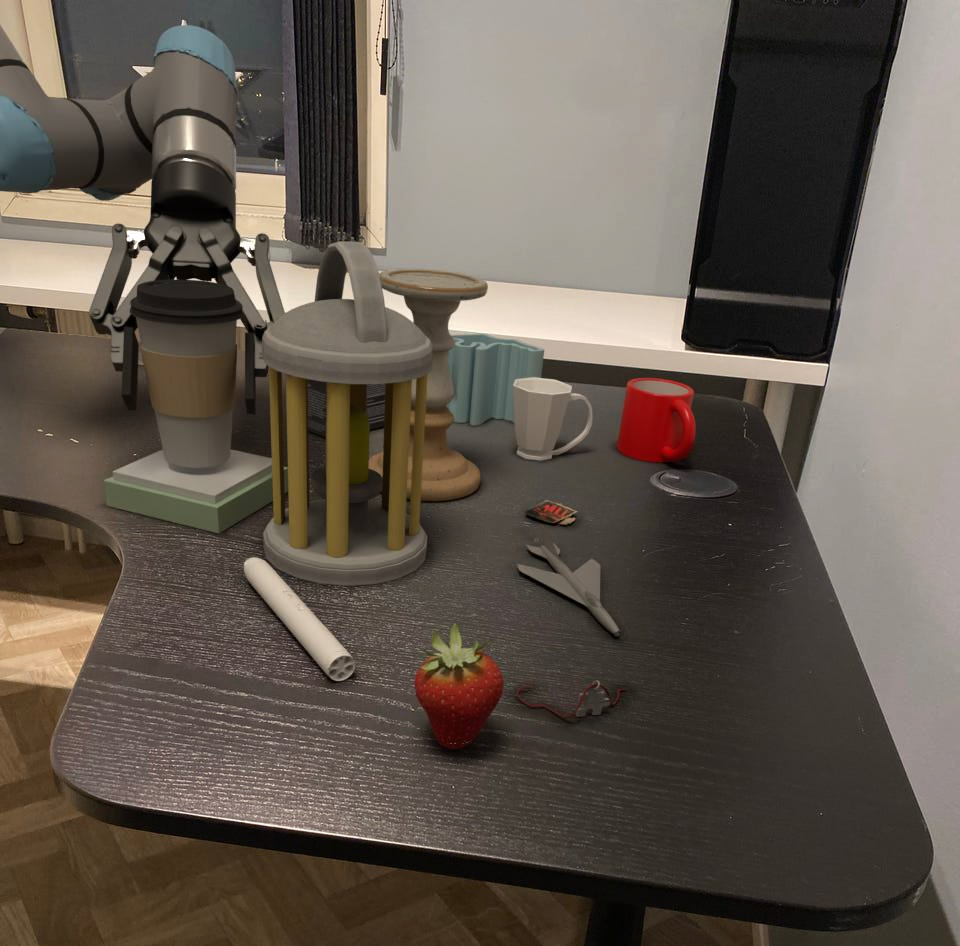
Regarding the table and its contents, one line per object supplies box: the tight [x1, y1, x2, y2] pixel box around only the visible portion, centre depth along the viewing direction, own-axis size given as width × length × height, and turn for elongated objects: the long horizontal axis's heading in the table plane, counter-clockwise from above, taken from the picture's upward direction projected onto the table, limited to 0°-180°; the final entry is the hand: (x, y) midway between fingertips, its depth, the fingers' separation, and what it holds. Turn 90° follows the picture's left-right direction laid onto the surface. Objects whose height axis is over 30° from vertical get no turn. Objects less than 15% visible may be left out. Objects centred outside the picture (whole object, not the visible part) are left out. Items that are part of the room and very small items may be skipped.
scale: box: [103, 449, 288, 534], centre depth 86 cm, size 12×12×3 cm
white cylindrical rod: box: [243, 556, 356, 682], centre depth 68 cm, size 18×2×2 cm, turn 32°
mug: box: [616, 377, 697, 463], centre depth 108 cm, size 8×12×8 cm, turn 24°
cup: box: [513, 377, 594, 462], centre depth 105 cm, size 7×10×8 cm
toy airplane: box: [516, 524, 621, 637], centre depth 78 cm, size 8×21×2 cm, turn 18°
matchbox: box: [525, 499, 578, 525], centre depth 90 cm, size 5×5×1 cm
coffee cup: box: [129, 279, 244, 468], centre depth 81 cm, size 9×9×15 cm
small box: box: [308, 379, 386, 439], centre depth 107 cm, size 11×6×10 cm, turn 138°
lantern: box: [262, 241, 433, 587], centre depth 74 cm, size 14×14×25 cm
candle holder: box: [369, 268, 489, 502], centre depth 91 cm, size 12×12×20 cm
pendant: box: [516, 680, 627, 719], centre depth 61 cm, size 8×4×3 cm, turn 107°
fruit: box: [414, 622, 505, 750], centre depth 55 cm, size 5×5×8 cm
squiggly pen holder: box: [446, 333, 545, 427], centre depth 114 cm, size 18×10×9 cm, turn 116°
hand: (190, 404), depth 79 cm, fingers closed on coffee cup, 9 cm apart
